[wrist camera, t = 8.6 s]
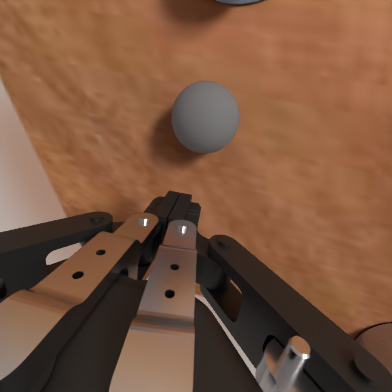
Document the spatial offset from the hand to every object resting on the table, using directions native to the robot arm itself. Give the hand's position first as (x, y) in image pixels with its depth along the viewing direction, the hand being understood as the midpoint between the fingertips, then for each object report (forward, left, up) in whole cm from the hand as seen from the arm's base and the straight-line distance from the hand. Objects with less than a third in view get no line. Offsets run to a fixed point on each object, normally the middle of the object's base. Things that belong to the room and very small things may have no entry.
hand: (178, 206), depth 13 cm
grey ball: (+4, -3, -6) cm, 8 cm away
